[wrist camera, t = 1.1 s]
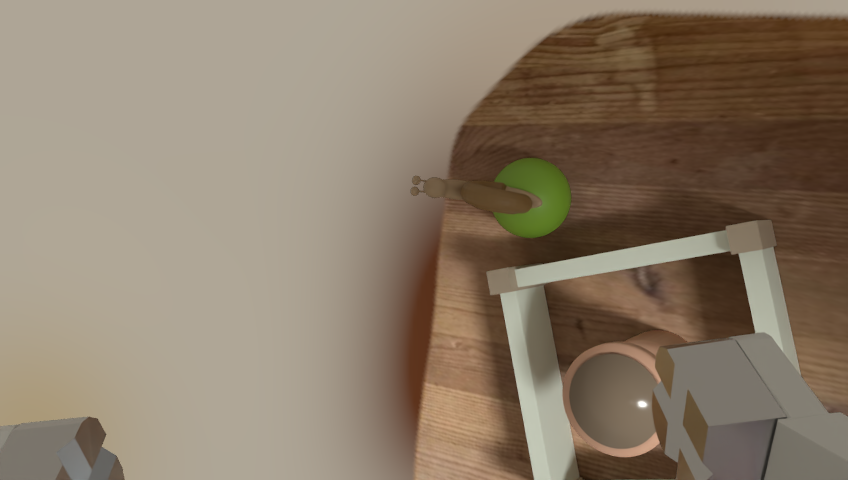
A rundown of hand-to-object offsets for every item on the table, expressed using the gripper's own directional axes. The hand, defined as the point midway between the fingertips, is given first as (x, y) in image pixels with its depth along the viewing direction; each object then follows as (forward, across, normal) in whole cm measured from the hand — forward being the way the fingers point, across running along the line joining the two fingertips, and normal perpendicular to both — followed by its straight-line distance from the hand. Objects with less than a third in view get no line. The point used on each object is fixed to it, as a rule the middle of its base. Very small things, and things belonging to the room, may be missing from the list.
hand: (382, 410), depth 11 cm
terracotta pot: (+27, -15, +26) cm, 40 cm away
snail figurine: (+37, -10, +18) cm, 42 cm away
